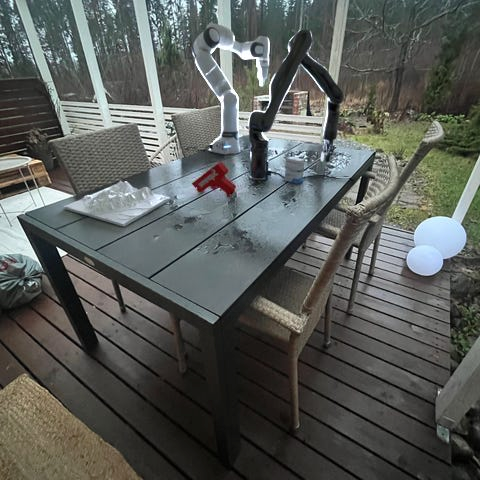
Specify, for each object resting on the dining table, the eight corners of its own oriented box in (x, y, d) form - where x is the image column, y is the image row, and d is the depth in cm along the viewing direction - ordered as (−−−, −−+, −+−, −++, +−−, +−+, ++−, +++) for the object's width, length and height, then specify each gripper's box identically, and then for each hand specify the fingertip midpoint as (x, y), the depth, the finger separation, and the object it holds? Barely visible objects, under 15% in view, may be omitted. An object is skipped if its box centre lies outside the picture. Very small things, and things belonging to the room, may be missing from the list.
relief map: (124, 226, 104) (120, 214, 101) (64, 208, 117) (60, 197, 114) (169, 200, 124) (168, 189, 121) (115, 187, 137) (112, 177, 135)
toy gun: (240, 187, 127) (221, 160, 123) (237, 190, 124) (218, 163, 120) (214, 205, 137) (195, 180, 133) (210, 208, 134) (191, 183, 130)
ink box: (302, 181, 142) (305, 159, 136) (297, 184, 139) (300, 161, 133) (289, 177, 147) (291, 156, 141) (284, 180, 144) (285, 158, 138)
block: (320, 160, 163) (321, 152, 161) (328, 160, 164) (329, 152, 161) (323, 162, 159) (324, 154, 157) (330, 162, 160) (332, 154, 157)
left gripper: (256, 64, 204) (255, 85, 211) (260, 64, 187) (259, 87, 194) (264, 64, 204) (263, 85, 212) (269, 64, 187) (268, 86, 195)
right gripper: (342, 132, 146) (336, 163, 156) (332, 127, 158) (327, 156, 168) (328, 133, 146) (323, 164, 155) (319, 127, 158) (315, 157, 167)
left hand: (261, 86), depth 203 cm, fingers open, 8 cm apart
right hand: (325, 160), depth 161 cm, fingers closed on block, 4 cm apart
